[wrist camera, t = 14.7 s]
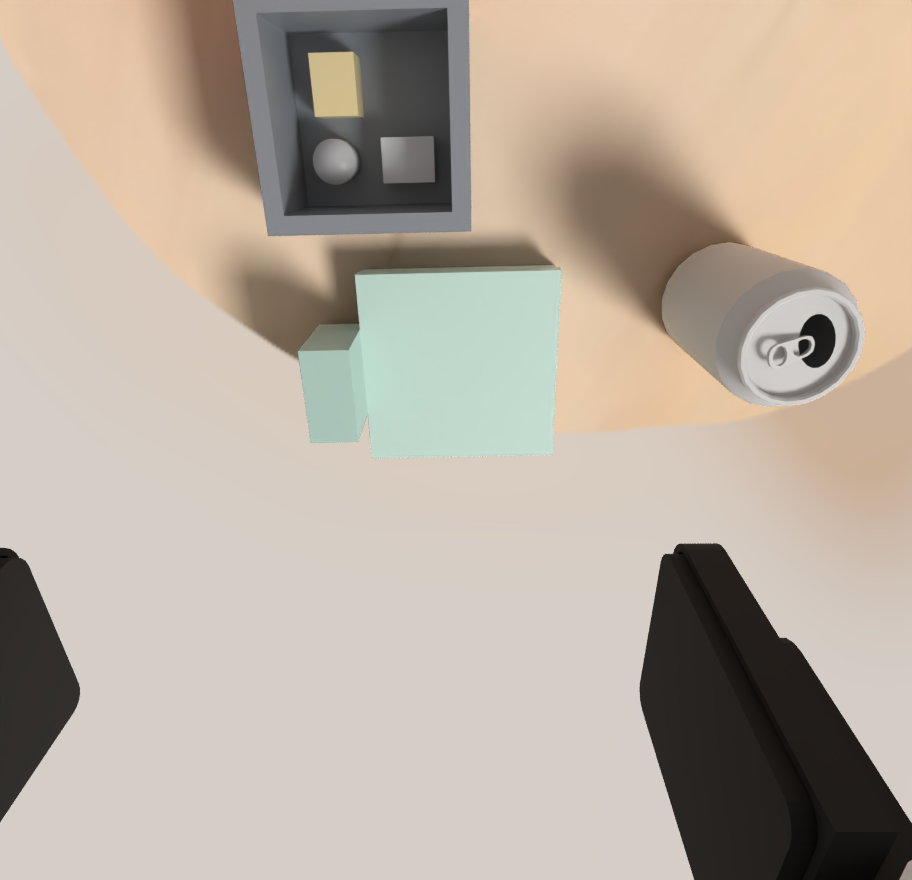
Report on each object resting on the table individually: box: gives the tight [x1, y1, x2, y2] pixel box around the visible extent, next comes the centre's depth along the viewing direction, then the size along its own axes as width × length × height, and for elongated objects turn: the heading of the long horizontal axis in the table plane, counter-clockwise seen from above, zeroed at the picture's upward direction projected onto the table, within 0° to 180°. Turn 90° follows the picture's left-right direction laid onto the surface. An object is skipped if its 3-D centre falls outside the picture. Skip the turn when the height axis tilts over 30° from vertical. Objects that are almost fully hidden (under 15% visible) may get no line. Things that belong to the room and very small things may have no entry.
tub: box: [233, 0, 471, 236], centre depth 34 cm, size 11×11×7 cm
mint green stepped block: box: [298, 265, 562, 458], centre depth 40 cm, size 13×16×7 cm
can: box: [662, 242, 865, 407], centre depth 36 cm, size 8×8×12 cm
